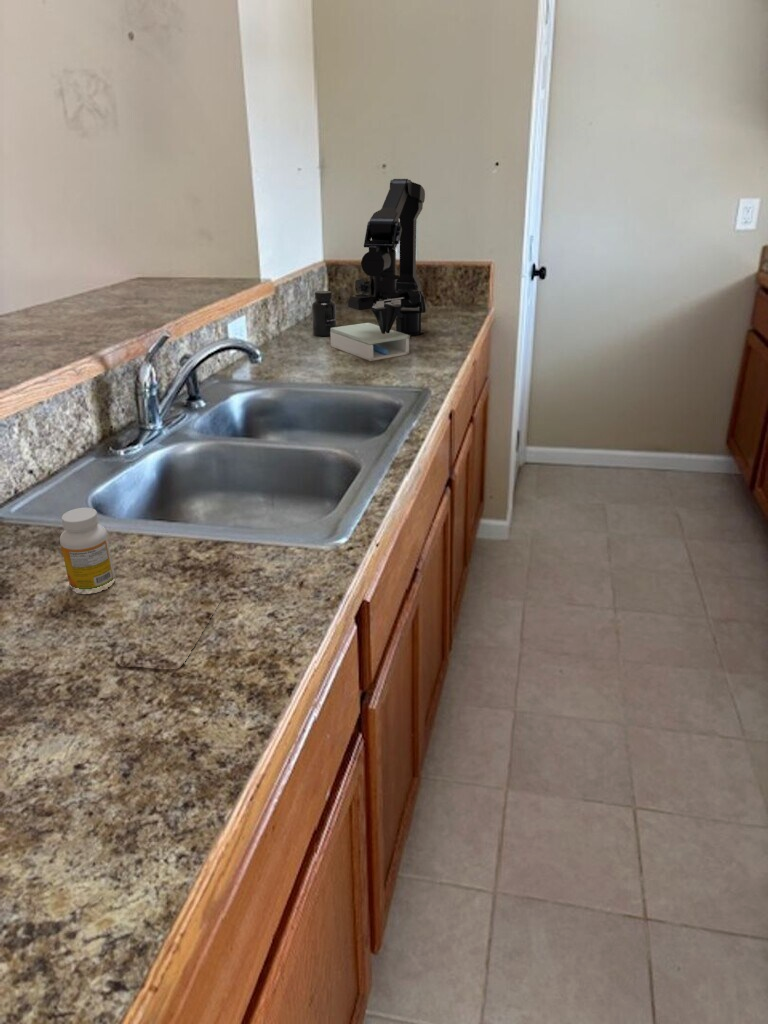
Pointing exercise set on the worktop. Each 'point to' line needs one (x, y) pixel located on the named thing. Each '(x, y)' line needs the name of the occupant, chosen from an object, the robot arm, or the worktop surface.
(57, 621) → the worktop surface
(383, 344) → the cable duct
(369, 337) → the duct cover
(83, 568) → the supplement bottle
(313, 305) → the supplement bottle
